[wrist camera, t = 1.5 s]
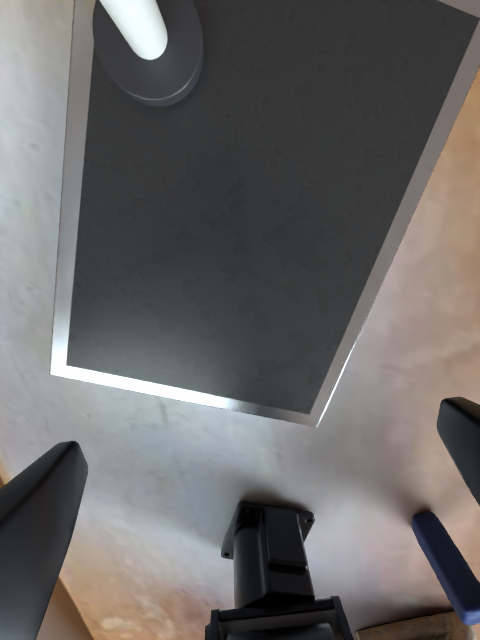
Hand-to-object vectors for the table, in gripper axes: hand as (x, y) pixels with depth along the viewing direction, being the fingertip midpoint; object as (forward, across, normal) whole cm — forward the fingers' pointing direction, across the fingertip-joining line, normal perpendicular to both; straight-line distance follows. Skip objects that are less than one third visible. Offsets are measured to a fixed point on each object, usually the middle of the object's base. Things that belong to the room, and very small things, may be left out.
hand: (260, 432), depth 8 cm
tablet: (+12, 0, -4) cm, 13 cm away
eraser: (+12, -14, +23) cm, 29 cm away
